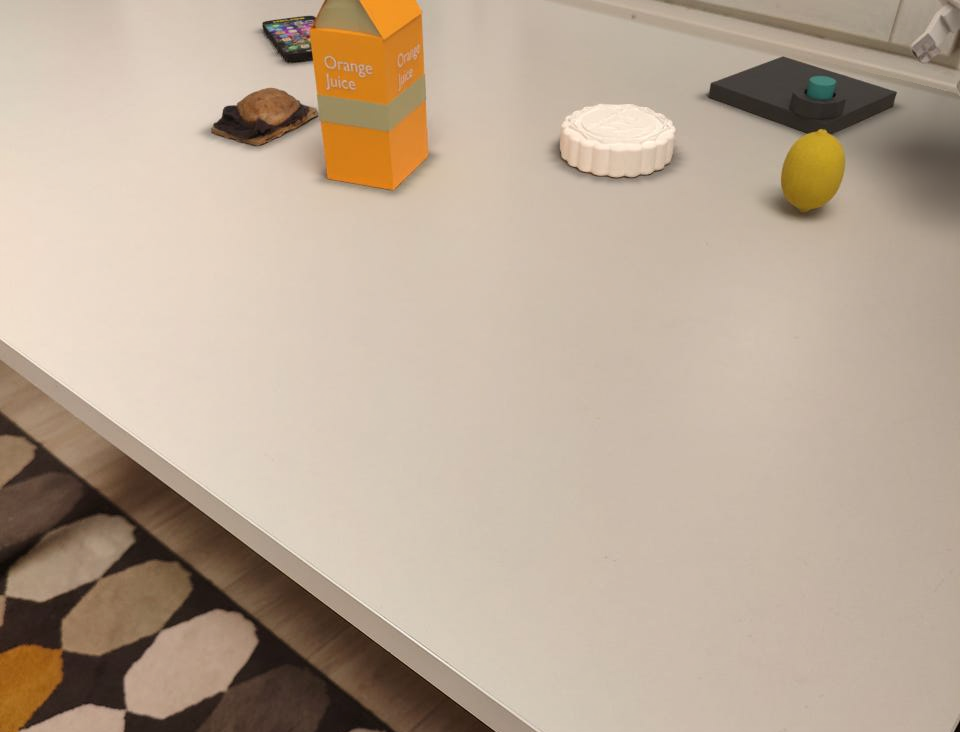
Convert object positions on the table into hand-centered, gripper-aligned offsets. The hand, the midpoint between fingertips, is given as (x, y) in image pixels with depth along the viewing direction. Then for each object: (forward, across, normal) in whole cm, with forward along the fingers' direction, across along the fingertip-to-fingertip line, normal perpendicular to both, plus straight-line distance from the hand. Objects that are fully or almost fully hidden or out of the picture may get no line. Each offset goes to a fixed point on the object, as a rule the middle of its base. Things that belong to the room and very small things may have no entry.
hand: (938, 74), depth 83 cm
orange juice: (+44, +14, +26) cm, 53 cm away
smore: (+54, +27, +35) cm, 70 cm away
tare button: (+7, +20, -6) cm, 22 cm away
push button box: (+9, +27, -9) cm, 30 cm away
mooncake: (+26, +15, +8) cm, 32 cm away
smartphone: (+52, +55, +33) cm, 82 cm away
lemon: (+15, 0, -2) cm, 16 cm away
